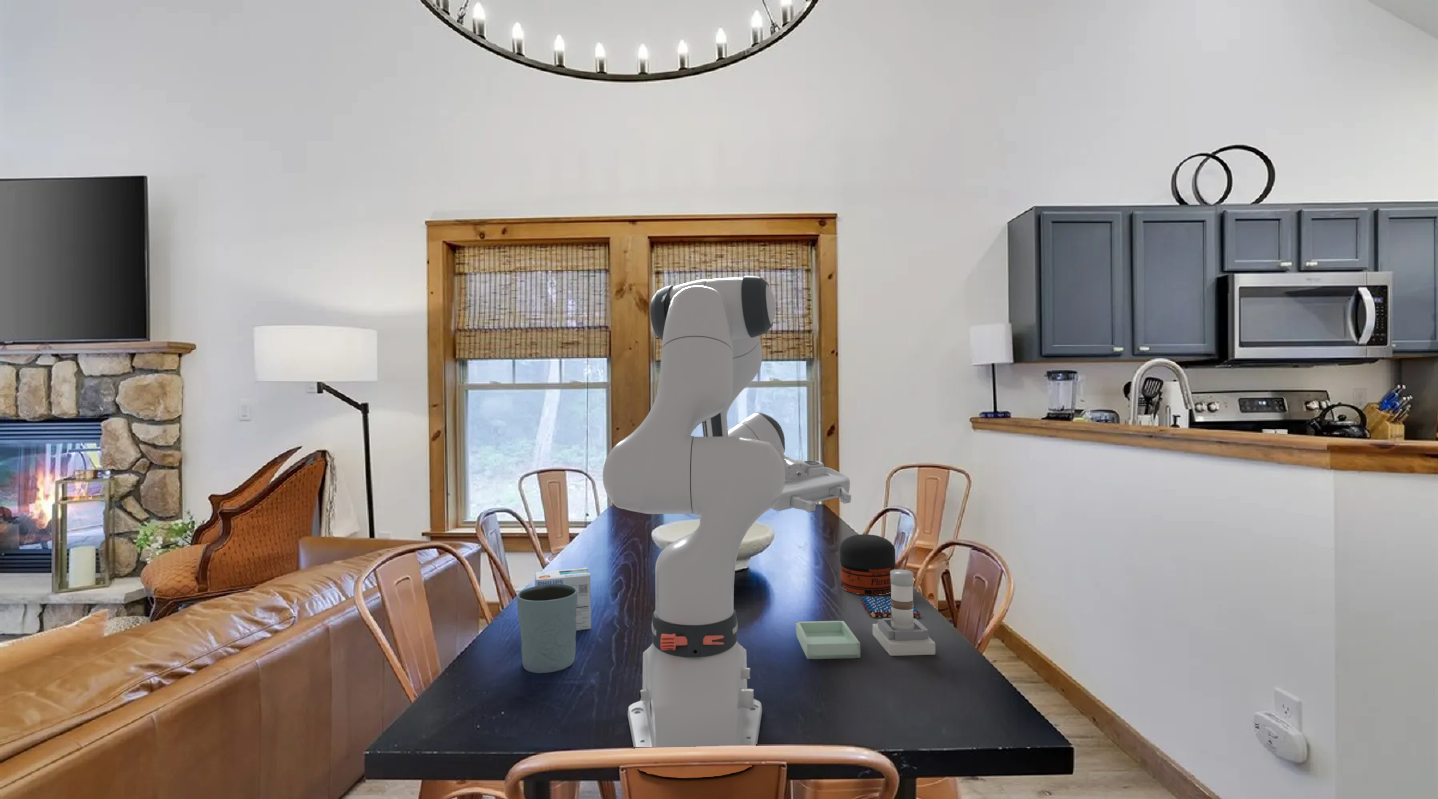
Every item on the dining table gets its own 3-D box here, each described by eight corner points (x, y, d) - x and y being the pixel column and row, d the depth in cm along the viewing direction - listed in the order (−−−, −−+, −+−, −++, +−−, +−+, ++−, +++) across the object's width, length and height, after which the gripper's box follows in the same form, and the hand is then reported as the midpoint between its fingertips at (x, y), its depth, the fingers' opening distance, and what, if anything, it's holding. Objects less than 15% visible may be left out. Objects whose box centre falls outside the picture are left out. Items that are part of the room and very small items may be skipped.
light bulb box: (588, 618, 124) (588, 566, 124) (591, 629, 118) (591, 574, 118) (534, 624, 121) (534, 570, 121) (535, 636, 115) (535, 579, 115)
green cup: (572, 674, 98) (572, 599, 98) (508, 676, 97) (509, 601, 97) (582, 649, 108) (582, 582, 108) (524, 651, 107) (524, 583, 107)
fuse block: (935, 654, 105) (935, 634, 105) (890, 655, 104) (889, 635, 104) (913, 633, 115) (913, 614, 115) (872, 634, 114) (872, 615, 114)
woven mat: (922, 620, 123) (921, 610, 123) (869, 620, 124) (869, 610, 124) (907, 604, 134) (907, 595, 134) (859, 604, 134) (859, 594, 134)
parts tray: (860, 657, 103) (860, 643, 104) (807, 659, 103) (807, 644, 103) (843, 633, 115) (843, 620, 115) (795, 635, 114) (795, 621, 114)
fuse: (917, 636, 108) (916, 574, 108) (895, 637, 107) (894, 575, 108) (909, 628, 112) (908, 569, 112) (888, 629, 111) (887, 569, 112)
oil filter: (860, 577, 154) (829, 587, 145) (859, 529, 154) (828, 536, 145) (906, 588, 144) (876, 599, 135) (905, 536, 145) (875, 545, 136)
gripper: (750, 474, 126) (791, 498, 114) (825, 459, 136) (869, 481, 125) (748, 501, 127) (788, 529, 116) (822, 485, 138) (865, 509, 127)
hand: (831, 504), depth 121 cm, fingers open, 8 cm apart
